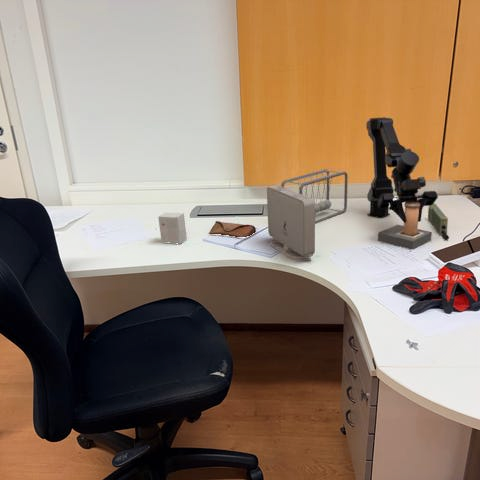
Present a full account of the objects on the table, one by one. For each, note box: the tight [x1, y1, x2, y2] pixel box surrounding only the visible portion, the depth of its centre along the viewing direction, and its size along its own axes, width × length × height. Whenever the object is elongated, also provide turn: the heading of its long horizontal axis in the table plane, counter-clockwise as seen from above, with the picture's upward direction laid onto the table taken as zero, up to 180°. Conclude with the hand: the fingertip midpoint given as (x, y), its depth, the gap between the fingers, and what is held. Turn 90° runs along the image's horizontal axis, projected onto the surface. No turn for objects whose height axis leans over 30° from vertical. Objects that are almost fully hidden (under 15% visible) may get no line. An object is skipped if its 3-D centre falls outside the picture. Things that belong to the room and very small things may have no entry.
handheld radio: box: [427, 202, 450, 240], centre depth 162 cm, size 7×3×25 cm
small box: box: [157, 212, 188, 245], centre depth 165 cm, size 8×6×10 cm
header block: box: [377, 224, 433, 250], centre depth 153 cm, size 13×12×4 cm
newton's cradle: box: [280, 169, 349, 225], centre depth 182 cm, size 30×10×18 cm, turn 132°
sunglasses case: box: [208, 220, 257, 237], centre depth 171 cm, size 18×7×7 cm
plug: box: [403, 202, 420, 237], centre depth 149 cm, size 5×5×13 cm
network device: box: [266, 185, 316, 260], centre depth 149 cm, size 26×9×20 cm, turn 23°
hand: (412, 221), depth 148 cm, fingers closed on plug, 4 cm apart
